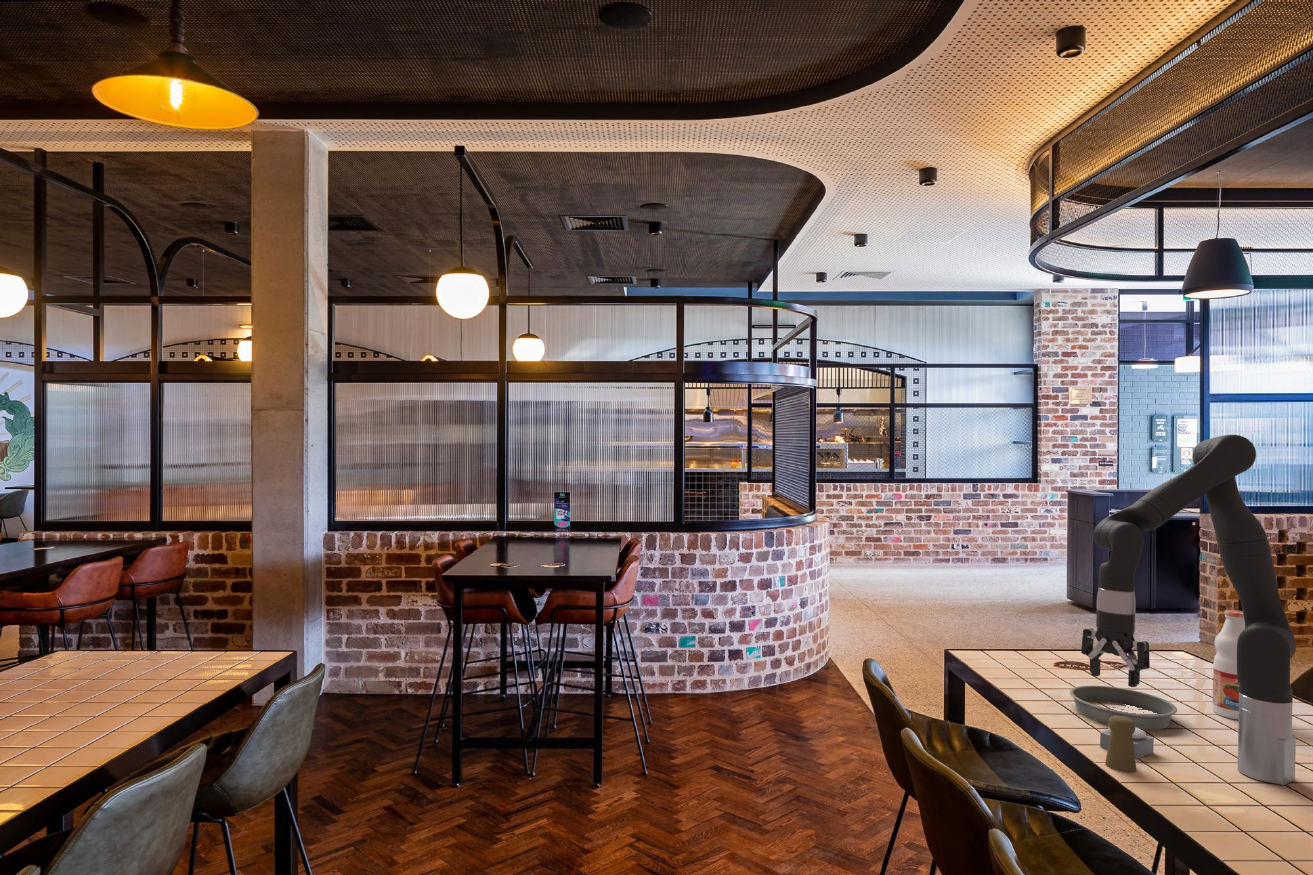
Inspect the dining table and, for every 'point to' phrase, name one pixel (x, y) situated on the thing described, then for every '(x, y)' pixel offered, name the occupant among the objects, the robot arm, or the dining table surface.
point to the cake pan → (1123, 697)
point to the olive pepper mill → (1121, 745)
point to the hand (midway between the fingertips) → (1113, 681)
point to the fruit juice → (1227, 666)
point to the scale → (1140, 742)
